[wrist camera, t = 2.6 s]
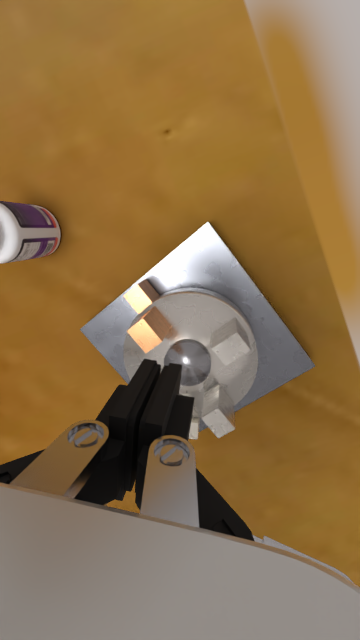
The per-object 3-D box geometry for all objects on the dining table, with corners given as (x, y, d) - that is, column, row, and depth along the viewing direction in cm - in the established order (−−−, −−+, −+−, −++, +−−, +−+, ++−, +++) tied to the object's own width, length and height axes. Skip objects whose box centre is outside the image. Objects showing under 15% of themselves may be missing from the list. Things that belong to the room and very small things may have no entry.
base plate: (309, 357, 31) (327, 384, 25) (182, 431, 36) (175, 466, 31) (208, 222, 28) (205, 220, 23) (87, 323, 34) (62, 341, 28)
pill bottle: (12, 206, 31) (-79, 196, 22) (58, 204, 30) (-16, 193, 21) (21, 257, 32) (-59, 268, 23) (65, 256, 32) (-1, 268, 22)
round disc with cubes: (280, 361, 29) (296, 400, 22) (182, 420, 33) (172, 467, 26) (189, 242, 27) (177, 246, 20) (96, 320, 31) (60, 345, 24)
